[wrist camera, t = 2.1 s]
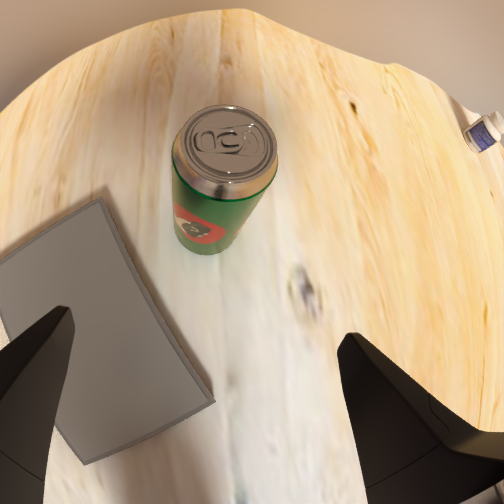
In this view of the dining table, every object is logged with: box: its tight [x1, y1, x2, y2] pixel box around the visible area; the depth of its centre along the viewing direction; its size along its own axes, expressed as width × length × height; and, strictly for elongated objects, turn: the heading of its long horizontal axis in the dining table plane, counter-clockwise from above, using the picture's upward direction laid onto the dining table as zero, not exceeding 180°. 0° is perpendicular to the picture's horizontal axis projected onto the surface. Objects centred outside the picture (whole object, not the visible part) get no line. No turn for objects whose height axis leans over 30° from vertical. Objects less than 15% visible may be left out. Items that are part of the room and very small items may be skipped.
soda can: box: [171, 105, 278, 255], centre depth 17 cm, size 5×5×12 cm
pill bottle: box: [463, 111, 504, 154], centre depth 34 cm, size 5×5×9 cm
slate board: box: [0, 197, 216, 466], centre depth 18 cm, size 18×13×1 cm
